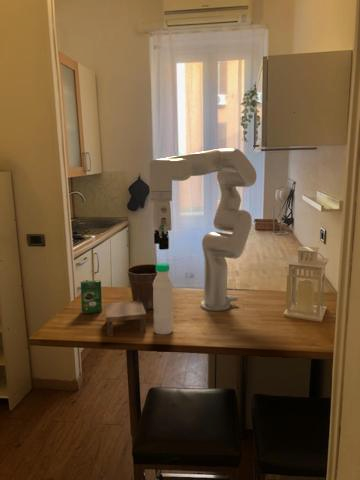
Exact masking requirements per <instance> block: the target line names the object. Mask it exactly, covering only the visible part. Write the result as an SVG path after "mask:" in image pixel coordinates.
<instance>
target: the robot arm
mask: <svg viewBox="0 0 360 480" xmlns="http://www.w3.org/2000/svg"><path fill="white" fill-rule="evenodd" d="M148 171H149V172H148V173H149V175H148V176H149V202H152V225H153V228H154V231H153V232H154V233H153V240H154V241H153V242H154V245H158V250H162V251H163V250H169V249H170V244H169V241H170V239H169V238H170V237H169V231H171V230H172V227H173V226H172V209H171V202H173V181H174V182H176V181H177V182H182V181H187V180H188V179H190V178H191V177H197V176H198V177H199V176H206V175H209V174H212V173H216V179H217V182H218V185H219V189H220V195H221V196H220V201H219V203H218V207H217V209H216V212H215V215H214V219H213V226H214V228H215V229H216V230H217V231H210V232H207V233H205V235H204V236H203V238H202V241H201V247H202V252H203V259H204V271H203V272H204V278H203V279H204V281H203V282H204V286H203V287H204V290H203V292H204V296H203V297H204V299H203V300H201V302H200V307H201V308H203V309H204V310H207V311H210V312H211V311H213V312H223V311H226V310H229V309H230V308H231V302H238V301H239V297H238V296H236V295H235V296H233V294H232V295H228V263H227V259H226V258H228V259H232V260H235V259H236V260H237V259H238V258H240V257H241V256H242V254H243V253H244V251H245V247H246V244H247V241H248V239H249V235H250V232H251V229H252V225H253V224H252V222H253V221H252V215H251V213H250V212H249V211H248V210H245V209H244V210H243V209H240V206H241V203H242V199H241V195H240V193H239V191H238V189H237V188H250V187H252V186H253V185H254V184H255V183H256V181H257V171H256V169H255V167H254V166H253V163H252V162H250V160H249V158H248V157H247V156H246V155H245V154H244V152H242V151H241V150H240V149H239V148H218V149H217V148H215V149H211V150H205V151H200V152H195V153H194V152H193V153H188V154H183V155H176V156H169V157H165V158H152V159H150V161H149V164H148ZM218 230H219V231H221V232H219V231H218ZM226 232H228V233H226Z"/></svg>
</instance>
